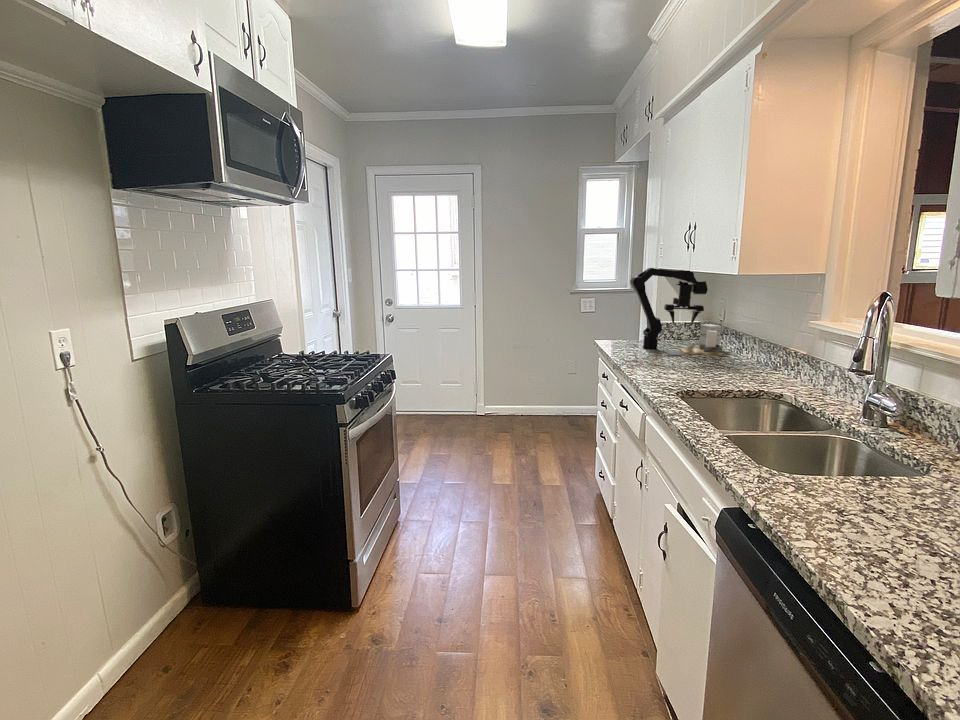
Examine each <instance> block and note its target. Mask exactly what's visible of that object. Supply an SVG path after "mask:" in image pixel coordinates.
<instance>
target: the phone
mask: <svg viewBox="0 0 960 720" xmlns="http://www.w3.org/2000/svg"><path fill="white" fill-rule="evenodd" d="M666 353H667V356H671V357H682V351H681V350H671V349H670V350H669V349H667V350H666Z"/></svg>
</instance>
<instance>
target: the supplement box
mask: <svg viewBox="0 0 960 720" xmlns="http://www.w3.org/2000/svg"><path fill="white" fill-rule="evenodd" d="M699 330H700V331H699V339H698V348H700V344H706V337H707V330H708V331H717V339H716V345H719V346H720V342H721V340H720V339H721V331H722V325H717V324H711V323H706V324H705V323H703V324H700V329H699Z"/></svg>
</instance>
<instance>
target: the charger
mask: <svg viewBox="0 0 960 720" xmlns="http://www.w3.org/2000/svg"><path fill="white" fill-rule="evenodd" d="M716 339H717V331H708V330H707V337H706V347H716Z"/></svg>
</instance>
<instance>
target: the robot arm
mask: <svg viewBox="0 0 960 720" xmlns="http://www.w3.org/2000/svg"><path fill="white" fill-rule="evenodd" d="M683 270H684V269H677V270H673V269H663V268H662V269H661V268H654V267H648V268H647V269H645V270H644V271H642V272H641V273H639V274H638V275H635V276H633V277H632V278H631V279H630V281H629V284H630V286H631V287H632V289H633V290H634V292H635V293H636V294H637V297H638V299H639V302H640V304H641V307H642V310H643V313H644V315H645V318H646V326H647V327H646V328H645V329H644V330H643V331H642V333H643V340H642V341H643V343H642V348H643V349H649V350H651V349H653V350H655V349H656V350H657V348H658V344H659V343H658V341H659V339H657V338H658V336H659V334H661V332H662V331H663V324H662V322H661V319H660V318H658V317H656V316H655V313H654V311H653V308H652V305H651V303H650V300H649V297H648V295H647V292H646V283H647V281H648V280H649V279H651V277H653V276H655V277H656V276H657V277H666V278H673V279H677V280H679V281H678V282H677V283H675V285H676V286H679V292H678V297H673V298H672V299H673V300H672V303H670V304H669V303H665V304H664V308H663V309H664V310H665V311H666V312H668V313H669V315H670V318H671V319H670V320H671V322H672V324H673V325H674V324H675V310H689V311H690V310H691V311H692V315H691V321H690V325H693V324H694V322H695V320H696V318H697V317H698V315H699V314H701V313H702V312H704V310H705V307H704V305H702V304H694V305H691V299H692V293H693V295H706V294H707V293H708V290H709V289H708V284H707V281H705V280H701V281H697V279H696V277H695V273H694V271H693V272H690V271H683Z"/></svg>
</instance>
